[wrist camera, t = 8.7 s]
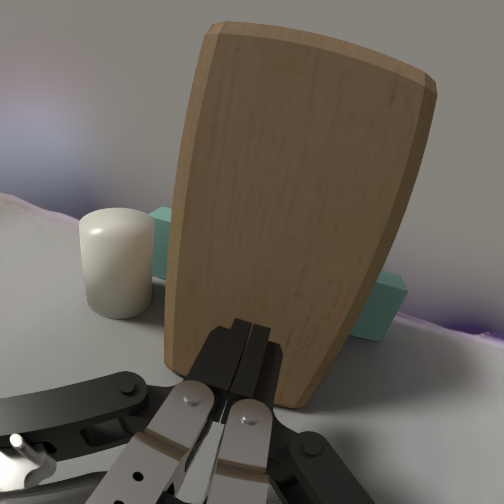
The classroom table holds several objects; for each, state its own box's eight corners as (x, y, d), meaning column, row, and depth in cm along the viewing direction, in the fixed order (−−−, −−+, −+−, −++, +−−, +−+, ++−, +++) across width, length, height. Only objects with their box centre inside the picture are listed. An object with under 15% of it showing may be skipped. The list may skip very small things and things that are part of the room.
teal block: (375, 323, 26) (400, 275, 24) (379, 341, 24) (408, 291, 21) (158, 259, 29) (162, 206, 26) (144, 272, 26) (146, 215, 24)
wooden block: (311, 325, 24) (387, 99, 16) (303, 416, 16) (449, 76, 7) (206, 294, 25) (252, 64, 17) (158, 372, 16) (201, 12, 8)
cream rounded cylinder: (163, 289, 25) (168, 218, 21) (129, 329, 19) (124, 248, 16) (112, 270, 25) (111, 203, 22) (74, 301, 20) (63, 225, 17)
